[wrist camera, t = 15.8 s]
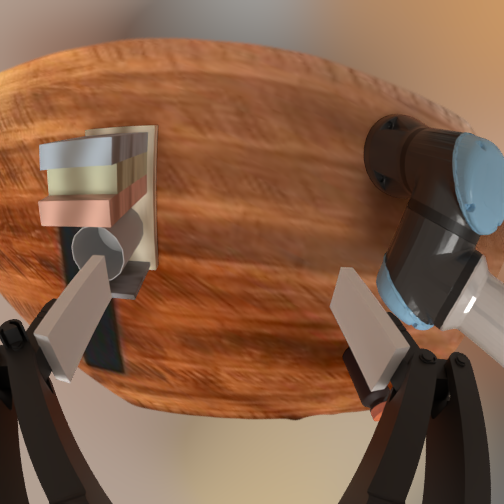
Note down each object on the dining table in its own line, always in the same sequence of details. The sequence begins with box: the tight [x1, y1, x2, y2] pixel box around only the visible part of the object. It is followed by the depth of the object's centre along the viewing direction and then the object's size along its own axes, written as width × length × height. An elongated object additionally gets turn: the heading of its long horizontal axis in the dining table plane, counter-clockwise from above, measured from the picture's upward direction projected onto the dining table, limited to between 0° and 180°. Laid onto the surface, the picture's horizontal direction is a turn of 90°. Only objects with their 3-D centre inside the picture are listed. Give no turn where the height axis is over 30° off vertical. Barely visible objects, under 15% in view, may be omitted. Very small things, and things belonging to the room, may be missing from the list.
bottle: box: [343, 348, 390, 421], centre depth 54 cm, size 7×7×20 cm
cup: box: [72, 208, 143, 280], centre depth 38 cm, size 8×8×10 cm
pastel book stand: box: [38, 125, 158, 300], centre depth 34 cm, size 12×24×17 cm, turn 174°
